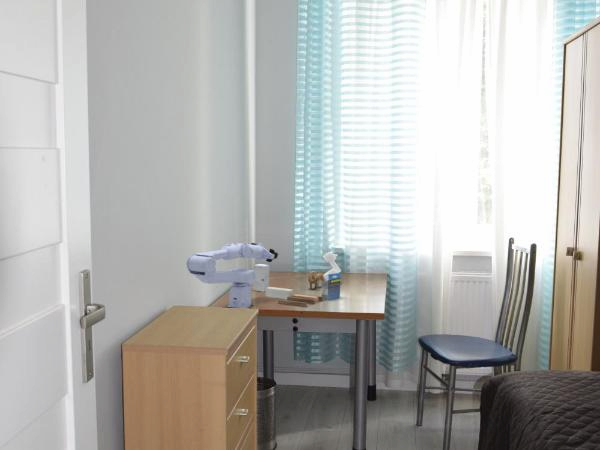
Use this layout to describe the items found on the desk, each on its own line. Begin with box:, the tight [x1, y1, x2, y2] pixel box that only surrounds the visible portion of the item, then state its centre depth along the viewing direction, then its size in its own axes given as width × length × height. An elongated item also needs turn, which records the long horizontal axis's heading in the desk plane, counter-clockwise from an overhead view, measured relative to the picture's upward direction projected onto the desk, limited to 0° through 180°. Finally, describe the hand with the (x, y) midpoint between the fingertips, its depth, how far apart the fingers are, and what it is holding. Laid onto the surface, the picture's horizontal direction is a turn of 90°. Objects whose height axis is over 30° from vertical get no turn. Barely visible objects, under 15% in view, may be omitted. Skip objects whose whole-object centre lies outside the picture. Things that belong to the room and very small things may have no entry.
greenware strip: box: [265, 286, 294, 300], centre depth 315 cm, size 4×12×5 cm, turn 61°
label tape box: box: [320, 272, 342, 301], centre depth 313 cm, size 9×4×12 cm, turn 141°
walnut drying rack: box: [276, 293, 326, 308], centre depth 305 cm, size 17×14×3 cm
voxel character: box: [322, 251, 342, 283], centre depth 356 cm, size 7×12×15 cm
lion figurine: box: [307, 270, 326, 290], centre depth 343 cm, size 15×5×9 cm, turn 157°
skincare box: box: [253, 263, 270, 293], centre depth 335 cm, size 6×4×12 cm
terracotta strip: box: [292, 293, 318, 302], centre depth 308 cm, size 3×11×2 cm, turn 61°
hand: (269, 253), depth 316 cm, fingers open, 7 cm apart
